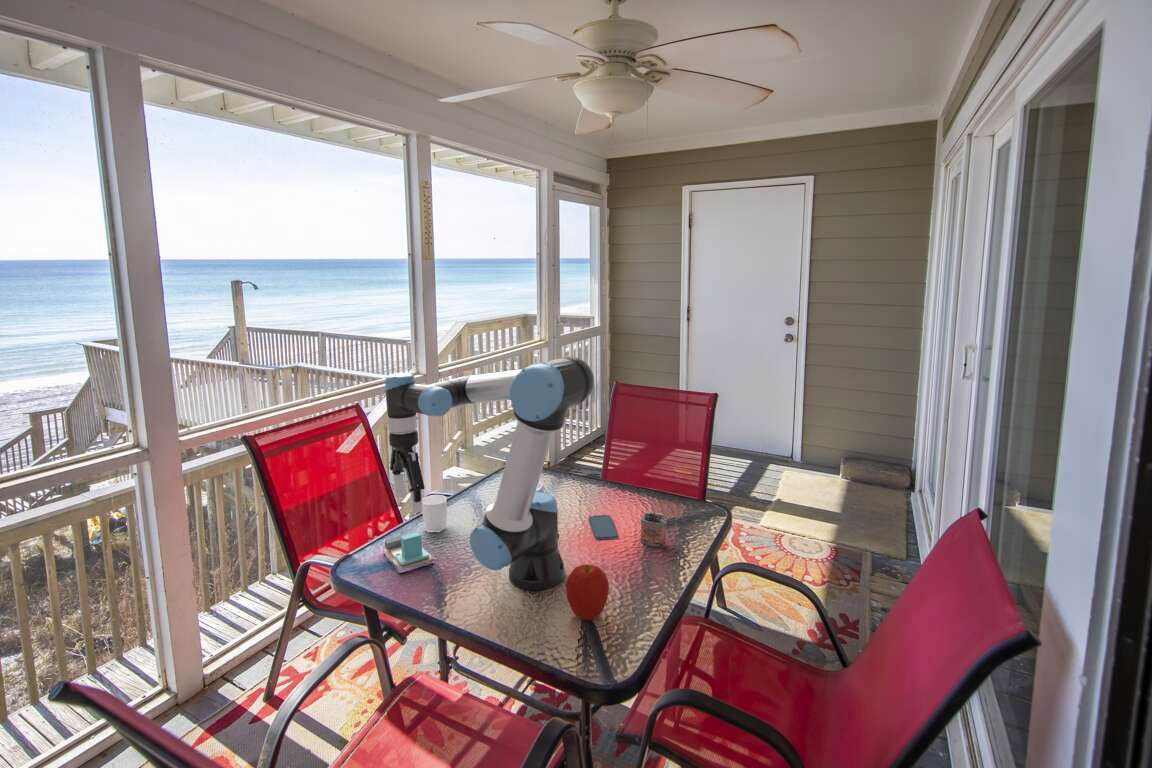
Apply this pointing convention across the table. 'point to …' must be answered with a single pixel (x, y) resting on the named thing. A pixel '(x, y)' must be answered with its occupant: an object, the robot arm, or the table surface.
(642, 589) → the table surface
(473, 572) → the table surface
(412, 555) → the teal upright sign stand
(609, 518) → the smartphone
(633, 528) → the table surface
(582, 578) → the apple
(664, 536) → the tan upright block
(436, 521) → the white cup
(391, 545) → the ticket holder
